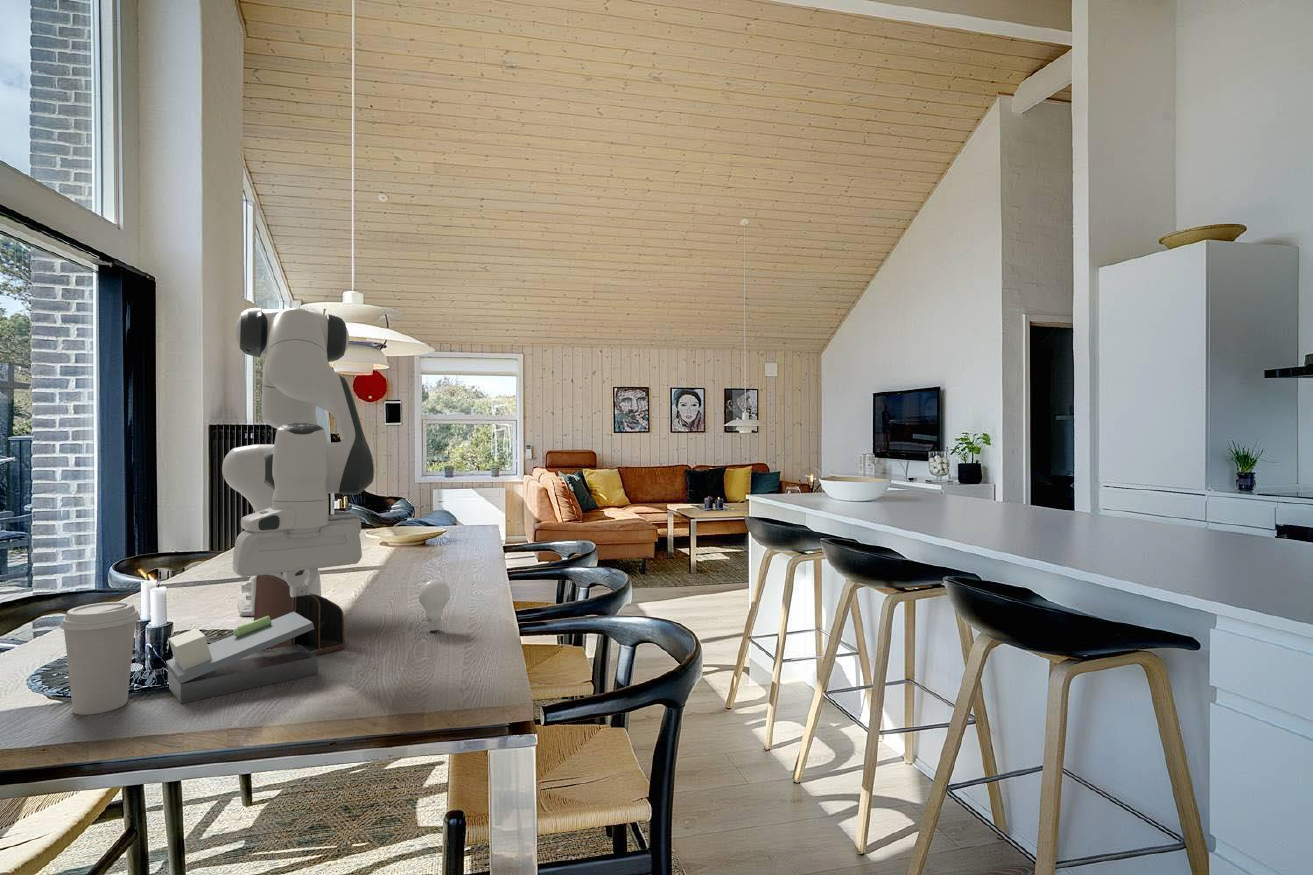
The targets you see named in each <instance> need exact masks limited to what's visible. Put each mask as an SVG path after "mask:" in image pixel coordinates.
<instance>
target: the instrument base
mask: <svg viewBox="0 0 1313 875" xmlns="http://www.w3.org/2000/svg"><path fill="white" fill-rule="evenodd" d="M318 669H319V657H318V655H315V654H313V653H312V652H310V651H309V650H307V649H306V648H304V647H303V646H301V645H300V644H296V645H291V646H286V647H280V648H275V649H271V648H269V649H264V650H262V651H259V652H257V653H254V654H252V655H249V656H247V657H245V658H242V659H240V660H237V661H235V662H232V663H230V664H228V665H225V666H223V667H220V668H218V669H215V670H213V671H211V672H208V673H206V674H203V675H201V676H198V677H196V678H193V679H191V680H189V681H186V682H184V683H180V682H179V681H178V680H177V678H176V677H175V676H174V675H173V674H172V672H171V671H170V670H169V669H168V668H167V684H168V683H169V688H168V689H169V691H170V692H171V693H172V694H173V696H174V697H175V698H176V700H177V701H178V703H179V704H180V705H181V704H182V705H183V704H185V703H186V704H187V703H190V702H195V701H200V700H204V699H209V698H214V697H218V696H223V695H227V694H232V693H236V692H237V693H238V692H240V691H246V690H250V689H255V688H259V687H264V686H268V685H274V684H279V683H282V682H283V683H284V682H288V681H291V680H296V679H300V678H301V679H302V678H305V677H310V676H314V675H318V674H319V670H318Z"/></svg>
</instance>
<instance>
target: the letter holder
mask: <svg viewBox="0 0 1313 875" xmlns="http://www.w3.org/2000/svg"><path fill="white" fill-rule="evenodd" d="M292 612H295V613H297V614H299V615H301V616H302V617H304V618H306V619H308V620H309V621H311V622H313V625H314V629H313V630H310V631H308V632H305V633H303V634H301V635H298V636H296V637H293V638H291V639H288V640H286V641H284V642H281V643H279V644H276V645H274V646H271V647H269V648H268V649H275V648H280V647H286V646H291V645H296V644H300V645H301V646H303V647H304V648H306V649H307V650H309V651H310V652H312V653H313V654H315V655H316V656H318V655H324V654H327V653H332V652H336V651H342V650H344V649H345V623H344V622H345V620H344V619H345V616H344V611H343V609H342V608H341V607H340V606H339V605H338V604H336V602H334V601H331V600H329V599H328V598H327V599H326V597H323V596H322V595H321V596H318V595H315V594H310V595H305V596H298V597H291V596H290V586H289V585H288V584H287V582H286V581H284V580H283V579H281V578H279V577H276V576H273V575H258V576H257V578H256V594H255V608H254V615H253V616H254V617H253V621H255V620H258V619H260V618H263V617H266V616H269V617H270V619H271V620H273V619H276V618H279V617H281V616H284V615H286V614H289V613H292Z"/></svg>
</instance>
